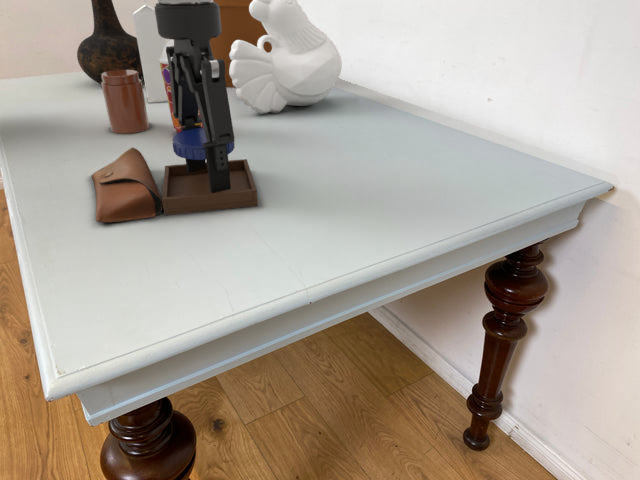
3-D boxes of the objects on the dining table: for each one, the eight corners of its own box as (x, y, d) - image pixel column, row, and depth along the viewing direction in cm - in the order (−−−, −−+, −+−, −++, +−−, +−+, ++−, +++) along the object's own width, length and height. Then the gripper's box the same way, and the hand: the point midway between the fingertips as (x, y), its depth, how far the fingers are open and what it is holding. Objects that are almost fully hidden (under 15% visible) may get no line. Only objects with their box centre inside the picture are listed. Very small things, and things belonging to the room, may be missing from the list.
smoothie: (214, 125, 97) (202, 17, 87) (215, 138, 90) (202, 21, 80) (171, 127, 96) (154, 17, 86) (169, 141, 89) (150, 22, 79)
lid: (232, 138, 70) (231, 125, 69) (236, 157, 63) (235, 143, 62) (174, 142, 68) (172, 129, 67) (173, 162, 62) (171, 147, 61)
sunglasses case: (87, 173, 73) (102, 134, 72) (133, 188, 77) (148, 151, 76) (95, 224, 59) (114, 176, 58) (150, 239, 63) (170, 194, 62)
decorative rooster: (334, 65, 118) (266, -24, 106) (364, 63, 104) (290, -40, 92) (264, 137, 117) (188, 55, 105) (285, 145, 103) (200, 51, 91)
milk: (148, 103, 113) (128, -2, 101) (148, 97, 118) (129, -4, 106) (175, 101, 114) (158, -3, 103) (174, 95, 119) (158, -5, 108)
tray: (164, 215, 63) (161, 199, 61) (167, 179, 73) (165, 165, 72) (257, 205, 65) (256, 190, 64) (247, 172, 75) (246, 158, 74)
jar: (109, 134, 92) (96, 77, 86) (113, 124, 98) (101, 70, 92) (148, 132, 93) (138, 75, 88) (150, 121, 99) (141, 68, 94)
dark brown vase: (157, 75, 141) (140, -35, 126) (146, 88, 125) (125, -35, 111) (94, 76, 138) (68, -36, 124) (75, 90, 123) (44, -35, 109)
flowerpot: (269, 67, 151) (264, -18, 139) (313, 84, 130) (312, -14, 119) (181, 76, 139) (168, -16, 127) (214, 96, 118) (202, -11, 106)
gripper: (255, 5, 51) (266, 199, 62) (185, -5, 66) (205, 153, 77) (187, 8, 47) (212, 214, 59) (130, -4, 62) (158, 162, 74)
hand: (208, 179), depth 68 cm, fingers closed on lid, 8 cm apart
